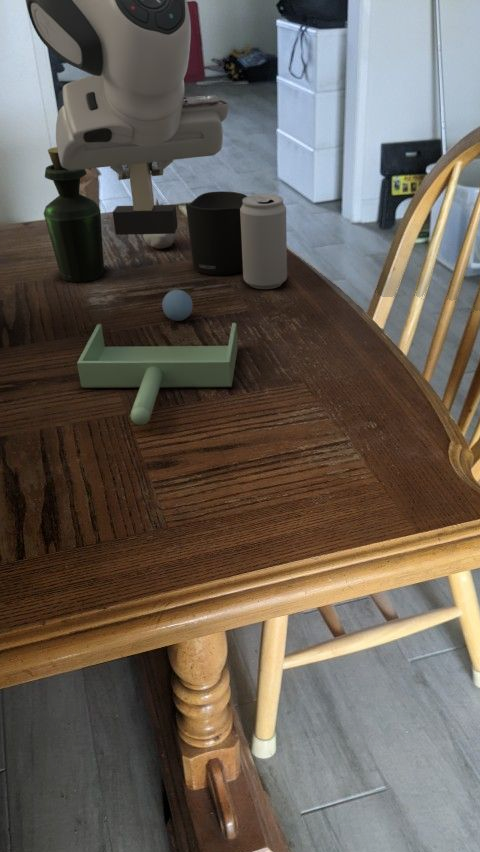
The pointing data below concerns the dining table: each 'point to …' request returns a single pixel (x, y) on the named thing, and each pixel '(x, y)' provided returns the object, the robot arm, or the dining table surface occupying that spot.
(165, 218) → the brush
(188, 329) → the dining table surface
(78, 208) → the potion bottle
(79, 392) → the dining table surface
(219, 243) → the pen holder
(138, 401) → the dustpan
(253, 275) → the beverage can
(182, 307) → the foam ball
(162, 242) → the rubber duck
